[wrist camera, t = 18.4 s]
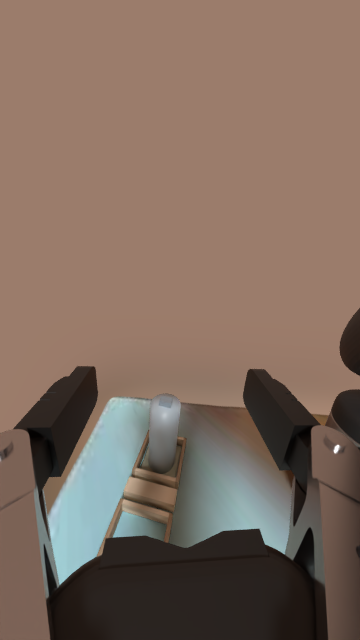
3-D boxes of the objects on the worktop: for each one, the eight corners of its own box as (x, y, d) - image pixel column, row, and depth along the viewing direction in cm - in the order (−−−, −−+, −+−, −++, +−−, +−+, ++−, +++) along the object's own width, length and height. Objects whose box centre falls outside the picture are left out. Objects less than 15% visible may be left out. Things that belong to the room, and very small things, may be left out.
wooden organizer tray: (185, 444, 38) (186, 438, 38) (154, 621, 20) (154, 613, 19) (148, 436, 40) (148, 429, 39) (86, 594, 21) (84, 586, 20)
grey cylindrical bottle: (177, 450, 37) (184, 392, 32) (170, 477, 32) (177, 415, 28) (153, 443, 38) (156, 386, 33) (143, 469, 33) (145, 407, 28)
